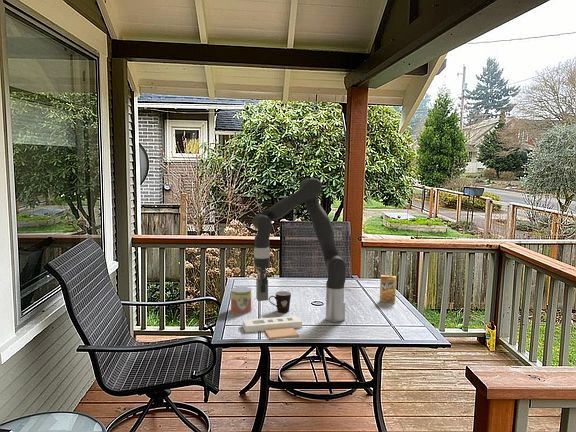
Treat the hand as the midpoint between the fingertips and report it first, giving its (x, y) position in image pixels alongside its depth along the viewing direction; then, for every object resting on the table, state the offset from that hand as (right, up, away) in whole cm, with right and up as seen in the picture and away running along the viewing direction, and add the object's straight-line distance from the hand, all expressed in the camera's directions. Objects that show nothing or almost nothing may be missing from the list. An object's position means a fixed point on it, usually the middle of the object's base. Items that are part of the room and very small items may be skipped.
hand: (262, 290), depth 217 cm
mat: (+9, -20, -5) cm, 22 cm away
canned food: (-13, -16, +29) cm, 36 cm away
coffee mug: (+8, -16, +29) cm, 35 cm away
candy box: (+71, -14, +49) cm, 88 cm away
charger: (0, -4, 0) cm, 4 cm away
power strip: (+5, -19, +5) cm, 20 cm away
